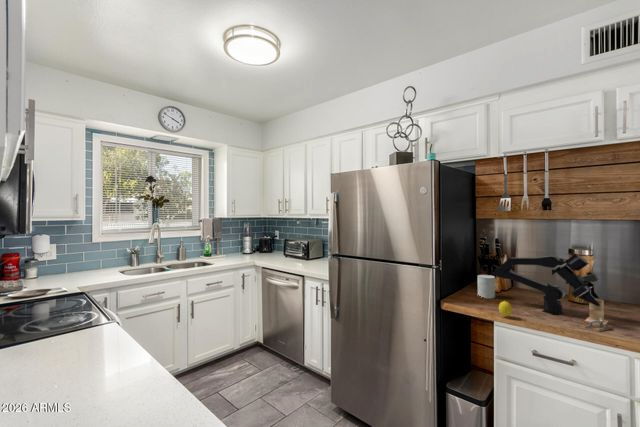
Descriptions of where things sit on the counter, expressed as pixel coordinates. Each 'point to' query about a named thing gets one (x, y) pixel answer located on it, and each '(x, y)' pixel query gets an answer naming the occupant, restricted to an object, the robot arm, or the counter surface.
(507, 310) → the lemon
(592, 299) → the robot arm
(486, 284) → the white cylinder
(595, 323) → the wire stand
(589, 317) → the pad
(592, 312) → the oak block
